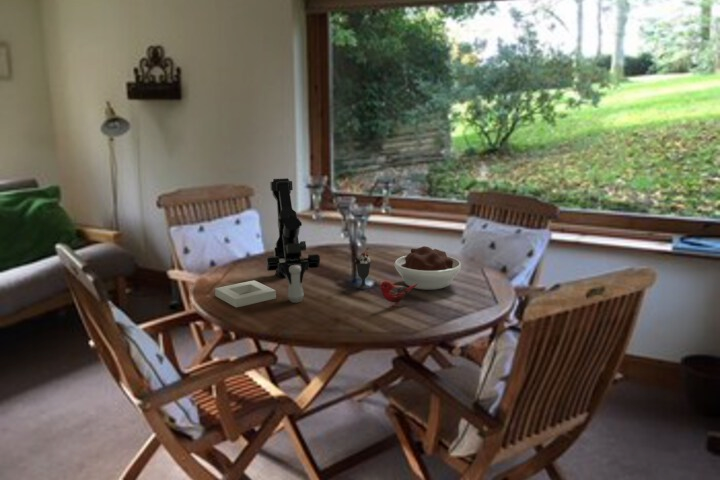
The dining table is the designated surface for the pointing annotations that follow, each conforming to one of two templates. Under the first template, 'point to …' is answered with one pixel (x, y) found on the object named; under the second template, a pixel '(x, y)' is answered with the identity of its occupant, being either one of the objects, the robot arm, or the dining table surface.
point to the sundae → (363, 268)
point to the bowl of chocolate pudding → (427, 268)
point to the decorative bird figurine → (394, 292)
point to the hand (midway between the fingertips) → (295, 283)
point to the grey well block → (236, 300)
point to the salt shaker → (295, 285)
